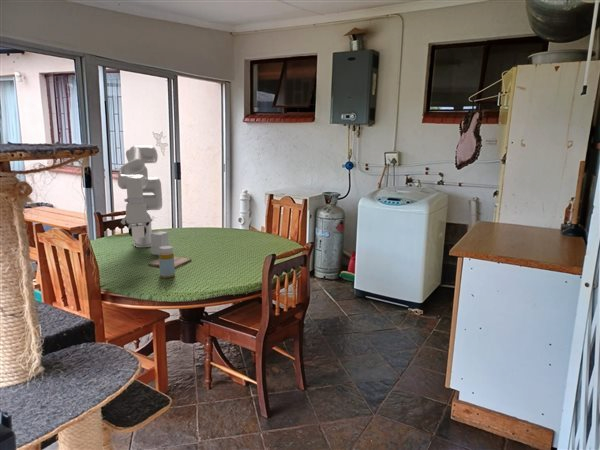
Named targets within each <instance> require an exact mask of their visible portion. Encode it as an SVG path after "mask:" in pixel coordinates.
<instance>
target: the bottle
mask: <svg viewBox="0 0 600 450" xmlns="http://www.w3.org/2000/svg"><path fill="white" fill-rule="evenodd" d="M159 250H160V255H158V259H159V267H158V268H159V277H160V278H161V279H172V278H173V277H174V276H176V273H175V272H176V271H175V270H176V268H175V267H174V257H175V254H174V255H173V253H174V248H173V246H172V245H169V246H161V247H160V248H159Z"/></svg>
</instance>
